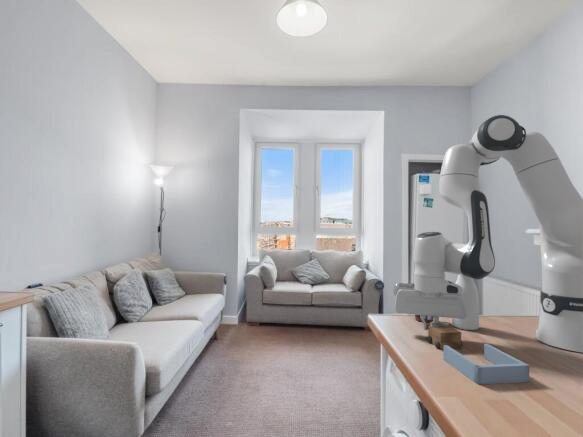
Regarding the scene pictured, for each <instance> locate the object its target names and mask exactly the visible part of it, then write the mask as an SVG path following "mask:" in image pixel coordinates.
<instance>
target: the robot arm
mask: <svg viewBox="0 0 583 437" xmlns="http://www.w3.org/2000/svg"><path fill="white" fill-rule="evenodd" d="M501 158H502V159H504V160H506V161H507V162H508V163H509V164H510V166H512V170H513V172H514V174H515V176H516V178H517V180H518V182H519V185H520V188H521V189H522V192H523V194H524V195H525V198H526V200H527V202H528V203H529V204H530V206H531V208H532V210H533V212H534V214H535V216H536V217H537V219H538V221H539V241H540V242H539V245H540V257H541V289H542V290H540V292H539V293H540V295H539V298H540V300H539V303H540V304H541V308H540V309H539V310H540V312H539V318H538V326H537V328H536V330H535V333H536V335H535V339H537V340H538V341H540V342H541V343H543V344H545V345H548V346H552V347H555V348H559V349H563V350H567V351H572V352H577V353H582V354H583V197H582V196H581V195H580V193H579V192H578V190H577V188H575V186H574V184H573V182H572V181H571V179H570V177H569V175H568V173H567V171H566V169H565V167H564V166H563V163H562V161H561V159H560V157H559V155H558V154H557V152H556V150H555V149H554V147H553V146H552V144H551V143H550V142H549V141H548V139H547V138H546V137H545V136H544V135H543V134H542V133H540V132H537V131H531V132H530V131H529V132H527V131H526V128H525V127H523V126H522V125H520V124H519V122H518V121H517V120H516V119H514V118H513V117H511V116H510V115H505V114H497V115H494V116H491V117H489V118H488V119H486V120H485V121H484V122H482V123H481V124H480V125H479V127H478V129H476V131H475V132H474V133H473V135H472V138H471V139H470V140H469V142H468V143H461V144H455V145H453V146H450V147H448V148H447V150H446V151H445V154H444V156H443V160H442V162H441V167H440V168H441V169H440V174H439V181H438V182H439V183H438V192H439V196H440V197H441V198H442V199H443V200H444V201H445V202H446V203H448V204H450V205H452V206H455V207H457V208H460V209H462V210H463V212H465V213H466V216H467V224H468V225H467V227H468V242H467V243H461V242H460V243H459V242H452V241H450V240H448V239H447V238H445V237H444V236H443V233H441V232H439V231H429V232H428V231H427V232H422V233H419V234H418V235H417V236H416V238H415V239H414V245H413V262H414V272H413V283H403V282H398V283H396V284H395V285H394V287H393V295H394V296H395V299H394V300H395V301H394V311H395V312H396V313H397V314H406V315H413V316H415V315H420V318H421V320H422V322H421V323H423V329H424V331H428V326H430V322H425V320H424V319H426V316H433V321H432V322H440V321H439V319H440V318H448V319H449V318H450V319H452V318H458V319H465V318H466V317H467V306H466V301H465V298H464V297H463V296H462V295H461V294H462V287H461V286H459V285H458V284H456V282H453V281H450V280H446V274H445V273H450V274H453V275H457V276H458V275H464V276H467V277H470V278H473V280H483V279H485V278H486V277H487V276H489V275H490V274H491V273H492V272H493V271H494V269H495V266H496V259H495V253H494V250H493V246H492V237H491V226H490V212H489V205H488V199H487V196H486V194H484V192H482V191H481V190H480V187H479V170H480V167H481V166H487V165H491V164H492V163H495V162H497V161H498V160H500V159H501Z"/></svg>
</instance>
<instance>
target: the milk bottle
mask: <svg viewBox="0 0 583 437" xmlns="http://www.w3.org/2000/svg"><path fill="white" fill-rule="evenodd" d="M455 283H456V284H458V285H459V286H461V287H462V294H461V295H462V296H463V297H464V298H465V301H466V306H467V317H466V318H465V319H458V318H451V319H452V320H451V322H452V326H453V327H454V328H457V329H461V330H465V331H478V330H479V328H480V304H479V303H480V301H479V300H480V298H479V291H478V287H477V284H476V283H475V280H474V278H470V277H467V276H464V275H458V274H457V278H456V281H455Z"/></svg>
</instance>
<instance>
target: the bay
mask: <svg viewBox="0 0 583 437" xmlns="http://www.w3.org/2000/svg"><path fill="white" fill-rule="evenodd" d="M442 350H443V361H445V362H446V363H448V364H449V365H450V366H451V367H454V369H456V370H457V371H459V372H460V373H462V374H463V375H464V376H466V377H467V378H469V379H470V380H471V381H473V382H474V383H475V384H476V385H487V384H488V385H489V384H507V383H508V384H511V383H530V365H529V364H528V363H525V362H524V361H521V360H520V359H517V358H516V357H514V356H512V355H510V354H508V353H506V352H505V351H504V352H503V351H502V350H500V349H499V348H496V347H494V346H492V345H490V344H488V343H484V344H483V354H484V355H483V357H484V359H485V360H487V361H489V362H490V363H492V364H477V363H476V362H475V361H473V360H471V359H469V358H468V357H466V356H465V355H464V354H462V353H460V352H459V351H457V350H456V349H452V348H451V347H449V346H448V345H443V349H442Z"/></svg>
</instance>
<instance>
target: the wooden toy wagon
mask: <svg viewBox="0 0 583 437" xmlns="http://www.w3.org/2000/svg"><path fill="white" fill-rule="evenodd" d="M429 323H430V326H428V330H427V332H428V333H427V337H426V340H427V341H426V342H427V343H429V344H431V345H434V347H435V348H436V349H439V350H443V345H448V346H449V347H451V348H452V349H454V350H461V349H462V348H463V346H464V345H463V342H462V331H459V330H458V329H456V328H455V327H452V326H450V325H449V322H447V321H438V322H433V321H432V322H429Z"/></svg>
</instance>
